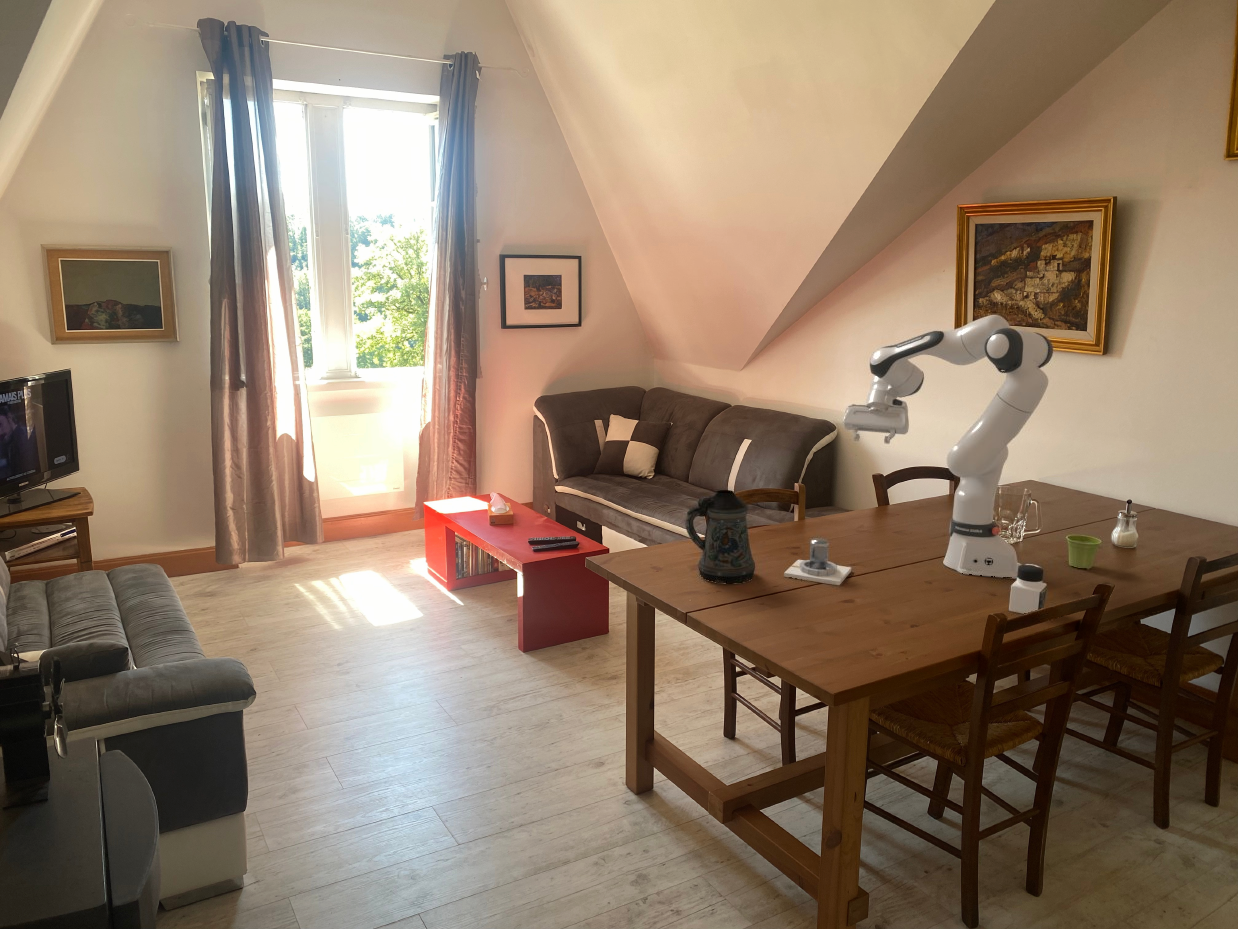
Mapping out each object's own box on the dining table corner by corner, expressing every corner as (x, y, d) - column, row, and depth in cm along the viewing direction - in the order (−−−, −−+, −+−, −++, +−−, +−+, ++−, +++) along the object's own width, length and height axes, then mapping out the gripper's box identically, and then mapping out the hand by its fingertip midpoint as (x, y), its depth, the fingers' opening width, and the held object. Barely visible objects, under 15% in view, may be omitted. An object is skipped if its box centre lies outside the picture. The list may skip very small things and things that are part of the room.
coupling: (829, 568, 264) (830, 539, 262) (824, 573, 260) (826, 543, 258) (811, 566, 266) (813, 537, 265) (807, 571, 262) (808, 541, 260)
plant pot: (1069, 559, 278) (1072, 532, 276) (1102, 566, 271) (1106, 539, 269) (1058, 566, 271) (1061, 538, 269) (1091, 573, 265) (1095, 545, 263)
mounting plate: (851, 571, 266) (851, 562, 265) (839, 585, 254) (839, 576, 253) (797, 563, 273) (798, 554, 272) (784, 576, 261) (784, 567, 260)
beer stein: (766, 578, 259) (770, 494, 254) (712, 590, 249) (714, 502, 244) (731, 563, 273) (733, 482, 268) (678, 573, 263) (679, 490, 258)
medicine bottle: (1037, 617, 231) (1042, 572, 228) (1008, 611, 235) (1012, 567, 232) (1044, 609, 236) (1049, 565, 234) (1015, 603, 241) (1019, 560, 238)
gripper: (846, 398, 292) (836, 432, 286) (911, 402, 283) (903, 438, 277) (848, 410, 297) (839, 444, 291) (912, 414, 288) (905, 449, 281)
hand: (871, 441), depth 283 cm, fingers open, 8 cm apart
